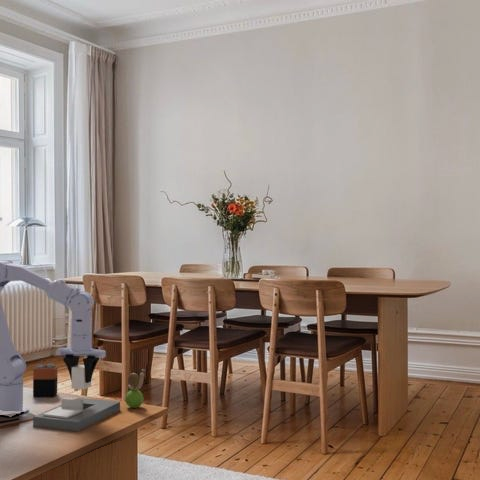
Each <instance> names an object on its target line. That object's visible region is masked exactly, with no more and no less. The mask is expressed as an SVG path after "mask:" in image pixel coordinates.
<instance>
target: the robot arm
mask: <svg viewBox="0 0 480 480" xmlns="http://www.w3.org/2000/svg"><path fill="white" fill-rule="evenodd" d="M11 281H21V282H24V283H26V284H28V285H30V286H33V287H34V288H36V289H37V288H38V289H39V290H41V291H44V292H45V293H46V296H47V298H49V299H51V300H53V301H55V302H57V303H59V304H60V305H61V304H62V305H63V306H65V307H66V308H69V310H70V311H71V320H70V321H71V325H70V326H71V327H70V328H71V330H70V331H71V335H70V336H71V337H70V338H71V339H70V340H71V341H70V343H71V344H70V347H59V348H57V353H56V354H57V356H65V357H63V359H62V360H63V362H64V364H65V366H66V368H67V371H68V373H69V374H68V375H69V377H70V381H71V383H72V367H74V366H77V365H79V361H80V357H85V358H83V359H82V361H83V365H84V367H85V382H86V383H89V382H91V383H92V378H93V375H94V371H95V368H96V366H97V364H98V362H99V360H100V359H104V358H107V357H106V354H107V353H106V350H104V349H96V348H92V346H93V345H92V344H93V343H92V338H93V337H92V336H93V317H92V314H93V313H92V312H93V311H92V310H93V309H92V308H93V306H94V304H95V299H94V297H93V295H92V294H91V293H90V292H88V291H86V290H83V291H81V288H79V287H76V288H75V287H74V286H71V285H69V284H67V281H66V280H64V279H60V280H59V279H54V280H50V279H48V278H46V277H44V276H43V275H41V274H38V273H36V272H35V271H33V270H31V269H29V268H27V267H26V266H23V265H22V264H20V263H17V262H14V261H12V260H9V259H3V260H0V293H1V292H2V291H3V290H4V288H5V286H6V285H7V284H9V283H10V282H11ZM10 331H11V330H10V329H9V324H8V322H7V318H6V315H5V310H4V308H3V304H2V301H1V299H0V410H2V411H25V412H24V413H27V412H29V411H30V408H25V407H24V405H23V404H24V378H23V375H24V374H25V372H26V370H27V364H26V362H25V359H23V357H22V356H21V355H20V351H19V350H18V349H17V347H15V346H14V343H13V339H12V336H11V332H10Z"/></svg>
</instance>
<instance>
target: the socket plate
mask: <svg viewBox="0 0 480 480" xmlns="http://www.w3.org/2000/svg"><path fill="white" fill-rule="evenodd" d="M76 399H79V400H83V409H82V410H83V412H81V413H78V414H76V415H74V416H72V417H70V418H68V419H66V418H57V417H49V416H43V414H44V413H47V412H49V411H51V410H54V409H56V408H58V407H61V404H60V405H58V406H55V407H53V408H51V409H47V410H45V411H44V412H41V413H38V414H35V415H33V417H32V426H33V427H37V428H38V427H39V428H47V429H57V430H61V431H62V430H64V431H72V432H81V430H85V429H86V428H87V427H89V426H92V425H93V424H96V423H98V422H100V421H102V420H103V419H105V418H108V417H109V416H111V415H114V414H116V413H117V412H119V411H121V401H116V400H106V399H105V400H104V399H96V398H87V397H86V398H85V397H77V398H76Z"/></svg>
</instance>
